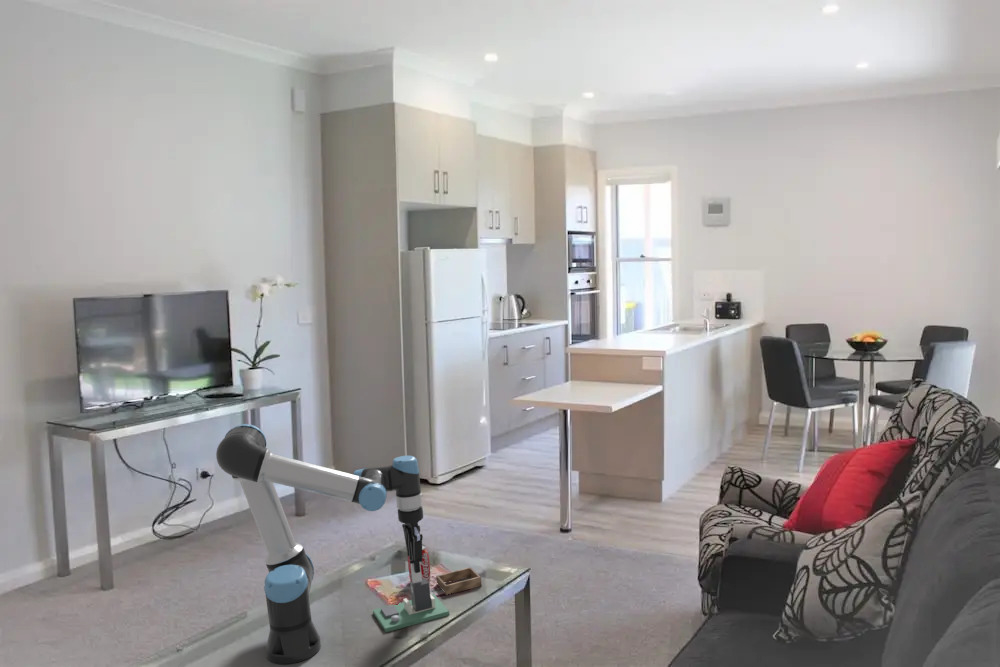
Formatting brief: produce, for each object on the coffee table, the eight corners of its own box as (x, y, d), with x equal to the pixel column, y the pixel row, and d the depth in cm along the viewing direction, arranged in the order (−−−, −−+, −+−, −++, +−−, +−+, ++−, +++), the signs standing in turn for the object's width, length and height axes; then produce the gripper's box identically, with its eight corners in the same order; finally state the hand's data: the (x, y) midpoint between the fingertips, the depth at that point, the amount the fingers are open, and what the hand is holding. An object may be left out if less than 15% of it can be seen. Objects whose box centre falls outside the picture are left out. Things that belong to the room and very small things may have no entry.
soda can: (432, 576, 283) (429, 542, 281) (429, 585, 276) (425, 551, 274) (412, 577, 283) (408, 543, 282) (408, 586, 277) (404, 551, 275)
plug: (415, 611, 255) (413, 587, 254) (412, 606, 259) (409, 582, 258) (431, 607, 257) (429, 583, 256) (427, 602, 261) (425, 578, 259)
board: (385, 632, 246) (384, 618, 246) (373, 613, 259) (371, 600, 259) (449, 614, 254) (448, 601, 253) (434, 597, 267) (433, 584, 266)
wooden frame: (446, 595, 268) (445, 586, 267) (436, 584, 276) (436, 575, 276) (481, 585, 272) (480, 577, 272) (471, 575, 281) (470, 567, 280)
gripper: (428, 510, 249) (435, 586, 252) (415, 498, 261) (422, 570, 264) (404, 516, 246) (411, 592, 249) (391, 503, 258) (399, 576, 261)
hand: (417, 581), depth 256 cm, fingers closed
